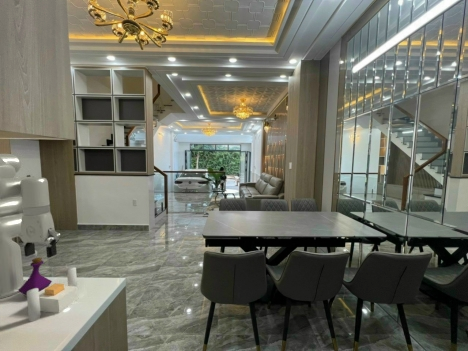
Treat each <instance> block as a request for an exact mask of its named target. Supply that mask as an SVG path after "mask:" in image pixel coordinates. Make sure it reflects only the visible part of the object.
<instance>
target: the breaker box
mask: <svg viewBox="0 0 468 351" xmlns="http://www.w3.org/2000/svg"><path fill="white" fill-rule="evenodd" d="M51 285H52V284H50V285H49V286H51ZM49 286H48V287H49ZM48 287H47V288H48ZM45 289H46V288H45ZM45 289H43V290H41V291H40V292H39V302H40V312H46V313H47V312H48V313H54V314H55V313H56V314H60V313H62V312H63V311H64V310H65V309H68V307H69V306H71V305H72V304H73V303H75V302H76V301H78V300H79V287H78V286H77V287H75V286H68V285H64V290H63V291H61V292H59V293H58V294H56V295H55V296H50V295H45Z"/></svg>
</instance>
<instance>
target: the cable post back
mask: <svg viewBox="0 0 468 351" xmlns="http://www.w3.org/2000/svg"><path fill="white" fill-rule="evenodd" d="M66 275H67V276H66V277H67V286H75V287H78V278H77V267H75V266H74V267H69V268H68V269H67V270H66Z"/></svg>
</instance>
